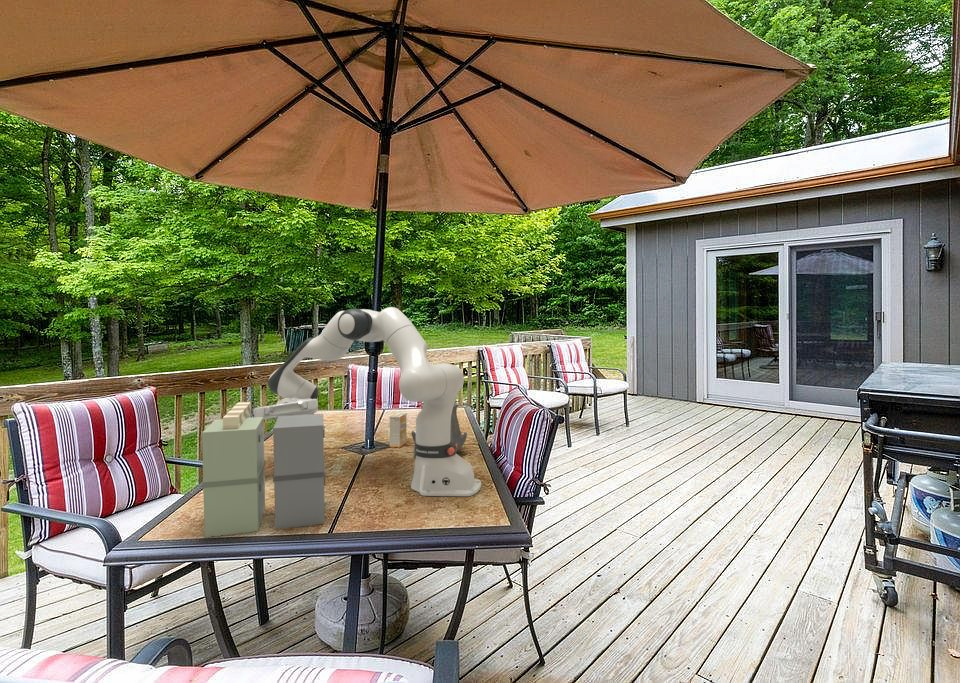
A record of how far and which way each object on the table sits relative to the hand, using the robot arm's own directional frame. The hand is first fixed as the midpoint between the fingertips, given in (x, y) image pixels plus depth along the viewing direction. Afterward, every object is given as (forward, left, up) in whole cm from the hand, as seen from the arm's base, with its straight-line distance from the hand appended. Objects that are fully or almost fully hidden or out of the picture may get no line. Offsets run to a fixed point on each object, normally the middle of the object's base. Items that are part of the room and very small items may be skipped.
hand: (285, 406), depth 160 cm
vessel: (-38, -45, -25) cm, 64 cm away
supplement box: (-18, -52, -25) cm, 61 cm away
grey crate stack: (-20, +23, -25) cm, 39 cm away
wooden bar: (-3, +26, +1) cm, 26 cm away
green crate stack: (-6, +31, -25) cm, 40 cm away
